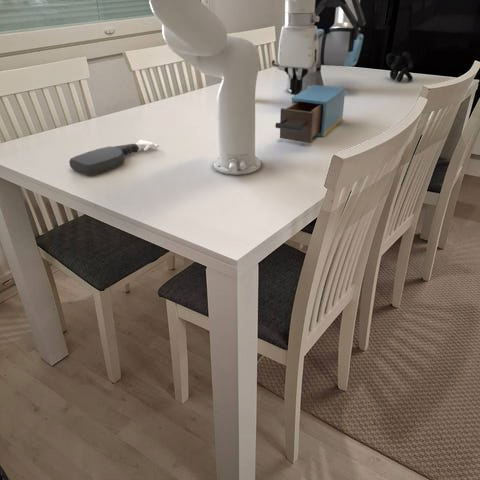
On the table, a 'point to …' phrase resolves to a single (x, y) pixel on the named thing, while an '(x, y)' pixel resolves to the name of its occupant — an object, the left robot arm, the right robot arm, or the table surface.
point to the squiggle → (399, 66)
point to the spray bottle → (106, 157)
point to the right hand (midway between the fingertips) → (329, 50)
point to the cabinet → (325, 104)
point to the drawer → (300, 121)
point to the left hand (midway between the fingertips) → (295, 93)
